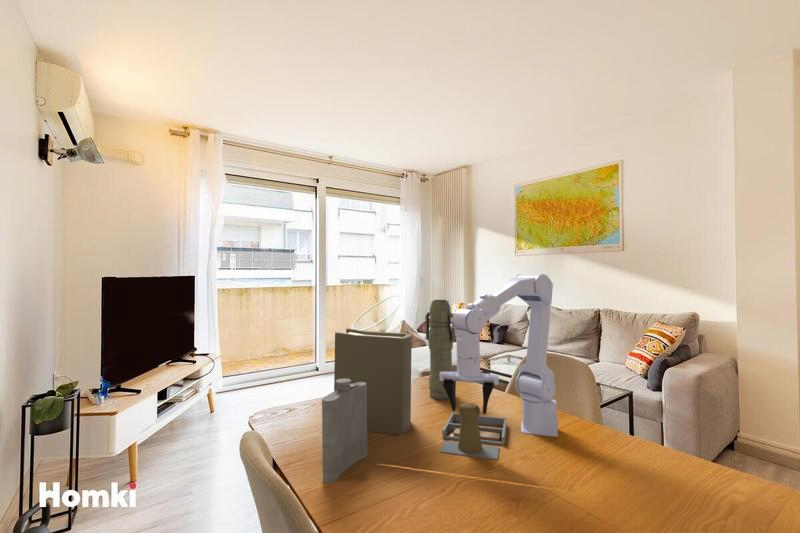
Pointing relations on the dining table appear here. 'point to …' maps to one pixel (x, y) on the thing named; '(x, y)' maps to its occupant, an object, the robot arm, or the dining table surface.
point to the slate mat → (486, 453)
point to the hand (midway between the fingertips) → (469, 411)
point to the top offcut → (482, 435)
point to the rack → (481, 420)
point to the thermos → (439, 345)
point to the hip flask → (343, 428)
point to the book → (378, 375)
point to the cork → (469, 429)
